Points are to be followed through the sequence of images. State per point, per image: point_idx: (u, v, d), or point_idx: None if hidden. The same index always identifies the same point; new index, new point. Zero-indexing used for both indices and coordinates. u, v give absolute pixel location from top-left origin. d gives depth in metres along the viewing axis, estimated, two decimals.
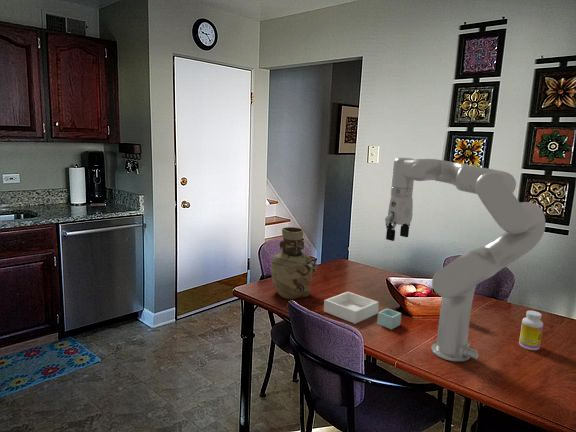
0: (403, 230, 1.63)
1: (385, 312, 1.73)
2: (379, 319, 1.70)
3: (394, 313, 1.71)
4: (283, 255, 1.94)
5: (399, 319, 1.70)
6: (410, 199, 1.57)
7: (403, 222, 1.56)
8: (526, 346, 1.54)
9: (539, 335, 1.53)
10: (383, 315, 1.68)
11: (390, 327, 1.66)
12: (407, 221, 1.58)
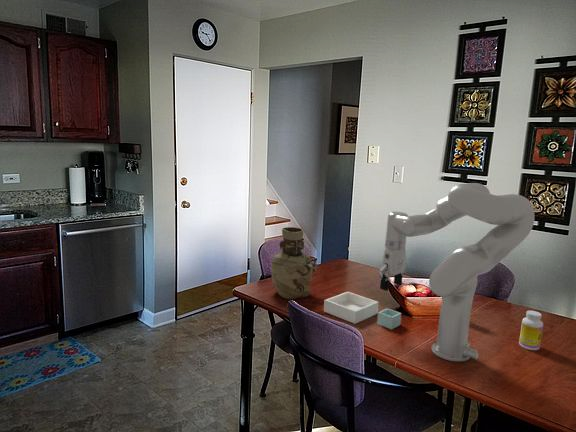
0: (397, 278, 1.71)
1: (385, 312, 1.73)
2: (379, 319, 1.70)
3: (394, 313, 1.71)
4: (283, 255, 1.94)
5: (399, 319, 1.70)
6: (403, 251, 1.65)
7: (396, 273, 1.64)
8: (526, 346, 1.54)
9: (539, 335, 1.53)
10: (383, 315, 1.68)
11: (390, 327, 1.66)
12: (400, 271, 1.66)
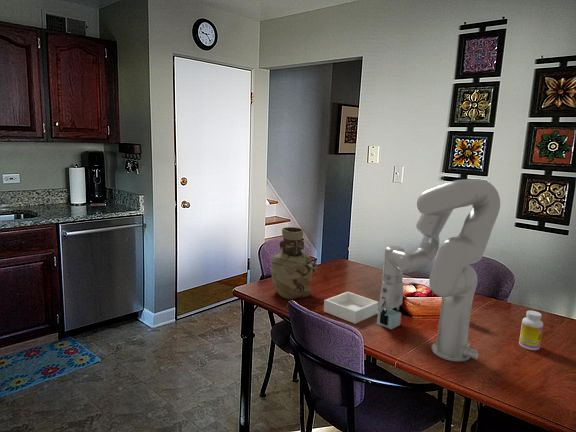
0: None
1: None
2: (379, 319, 1.70)
3: (394, 313, 1.71)
4: (283, 255, 1.94)
5: (399, 319, 1.70)
6: (400, 284, 1.67)
7: (394, 306, 1.66)
8: (526, 346, 1.54)
9: (539, 335, 1.53)
10: None
11: (390, 327, 1.66)
12: (398, 304, 1.68)
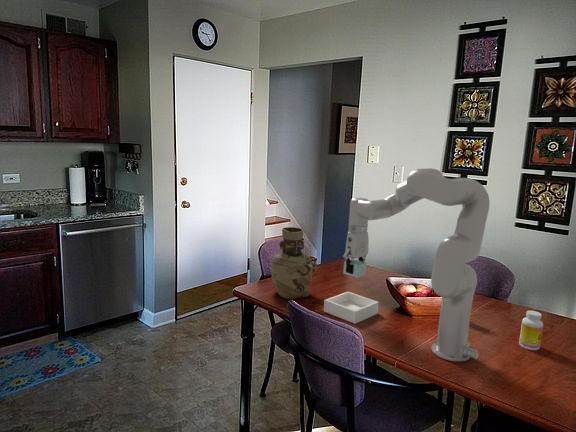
0: None
1: None
2: (345, 268, 1.77)
3: (360, 263, 1.78)
4: (283, 255, 1.94)
5: (364, 268, 1.77)
6: (365, 235, 1.74)
7: (359, 255, 1.73)
8: (526, 346, 1.54)
9: (539, 335, 1.53)
10: None
11: (355, 275, 1.73)
12: (363, 254, 1.75)
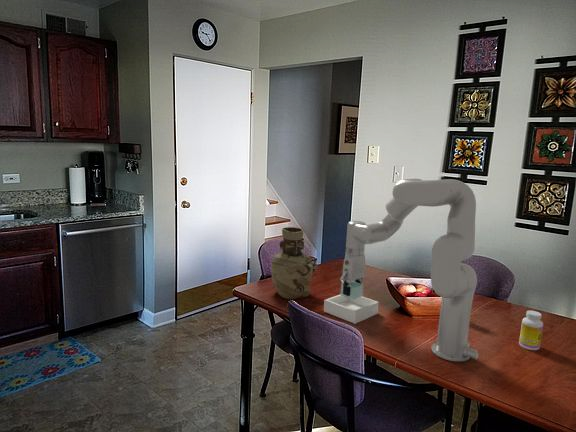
0: None
1: None
2: (342, 290, 1.79)
3: (357, 285, 1.81)
4: (283, 255, 1.94)
5: (361, 290, 1.79)
6: (362, 257, 1.76)
7: (356, 278, 1.75)
8: (526, 346, 1.54)
9: (539, 335, 1.53)
10: None
11: (352, 297, 1.76)
12: (360, 276, 1.77)
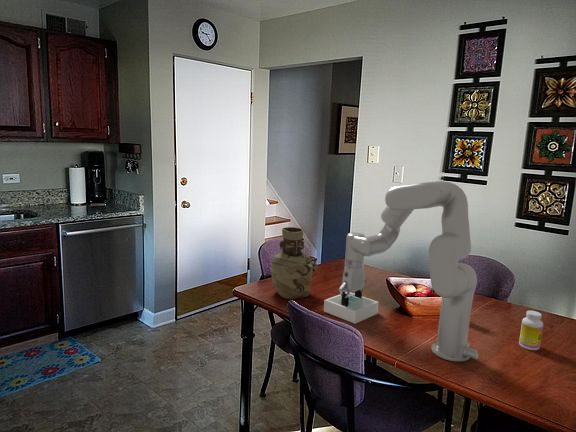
0: (357, 295, 1.83)
1: None
2: (342, 305, 1.80)
3: (356, 299, 1.81)
4: (283, 255, 1.94)
5: (361, 305, 1.80)
6: (362, 269, 1.77)
7: (355, 289, 1.76)
8: (526, 346, 1.54)
9: (539, 335, 1.53)
10: None
11: None
12: (359, 288, 1.78)
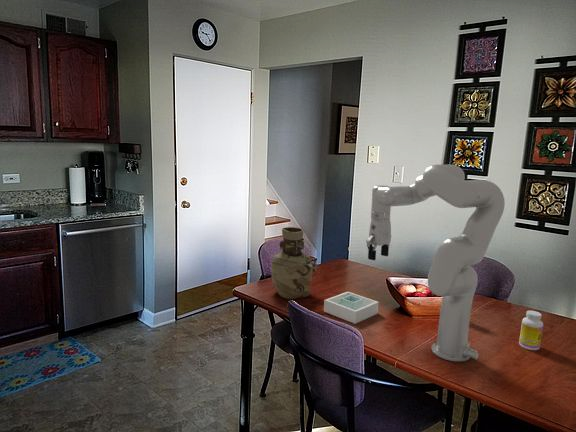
0: (383, 250, 1.80)
1: (348, 298, 1.83)
2: (342, 305, 1.80)
3: (356, 299, 1.81)
4: (283, 255, 1.94)
5: (361, 305, 1.80)
6: (388, 222, 1.75)
7: (383, 243, 1.73)
8: (526, 346, 1.54)
9: (539, 335, 1.53)
10: (345, 301, 1.78)
11: None
12: (386, 242, 1.75)
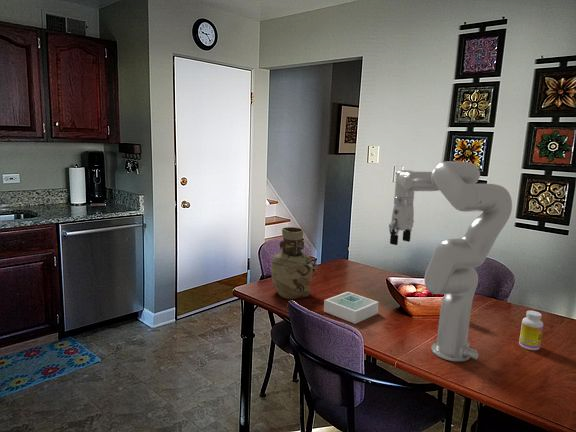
0: (405, 235, 1.80)
1: (348, 298, 1.83)
2: (342, 305, 1.80)
3: (356, 299, 1.81)
4: (283, 255, 1.94)
5: (361, 305, 1.80)
6: (411, 207, 1.74)
7: (405, 228, 1.73)
8: (526, 346, 1.54)
9: (539, 335, 1.53)
10: (345, 301, 1.78)
11: None
12: (409, 227, 1.75)
